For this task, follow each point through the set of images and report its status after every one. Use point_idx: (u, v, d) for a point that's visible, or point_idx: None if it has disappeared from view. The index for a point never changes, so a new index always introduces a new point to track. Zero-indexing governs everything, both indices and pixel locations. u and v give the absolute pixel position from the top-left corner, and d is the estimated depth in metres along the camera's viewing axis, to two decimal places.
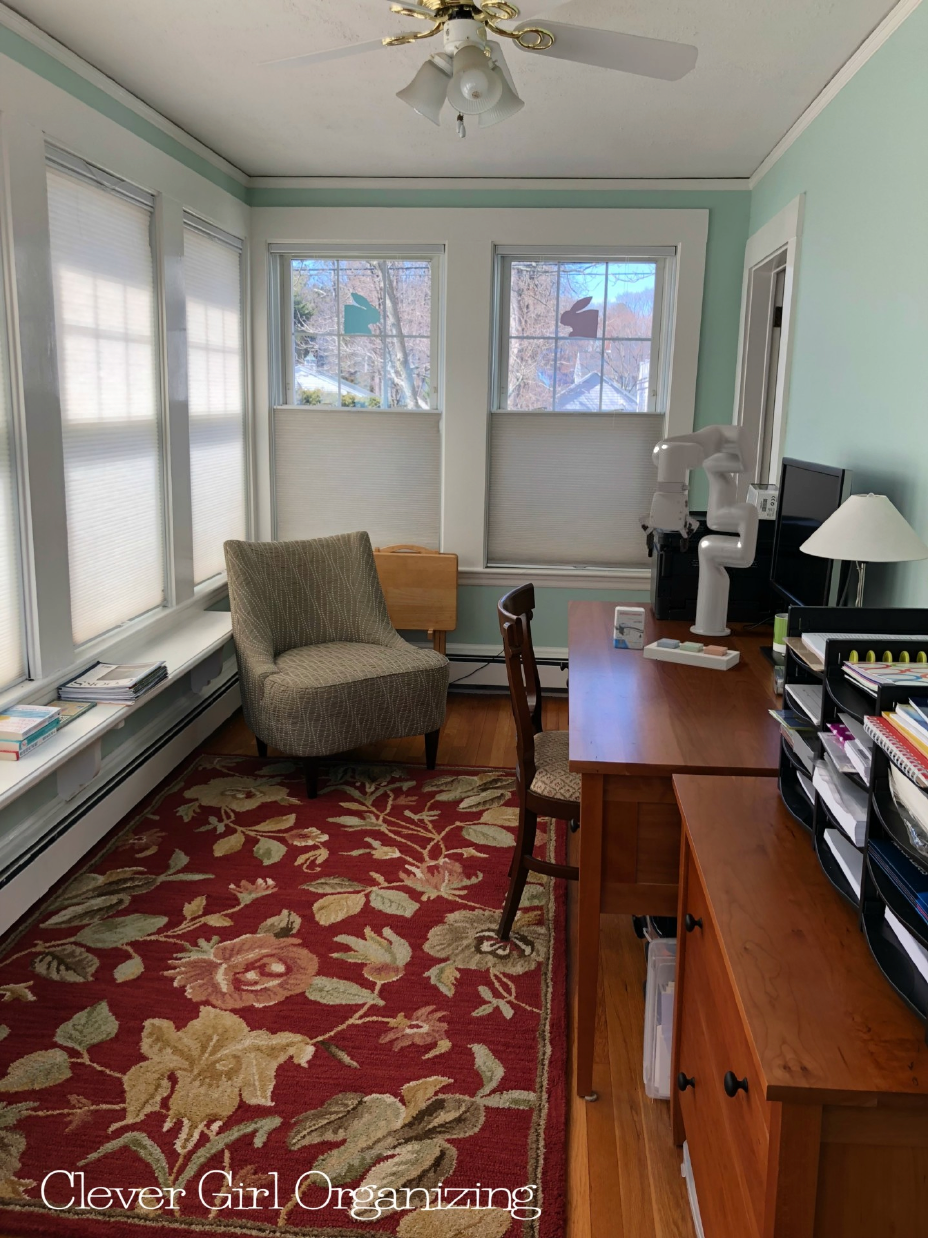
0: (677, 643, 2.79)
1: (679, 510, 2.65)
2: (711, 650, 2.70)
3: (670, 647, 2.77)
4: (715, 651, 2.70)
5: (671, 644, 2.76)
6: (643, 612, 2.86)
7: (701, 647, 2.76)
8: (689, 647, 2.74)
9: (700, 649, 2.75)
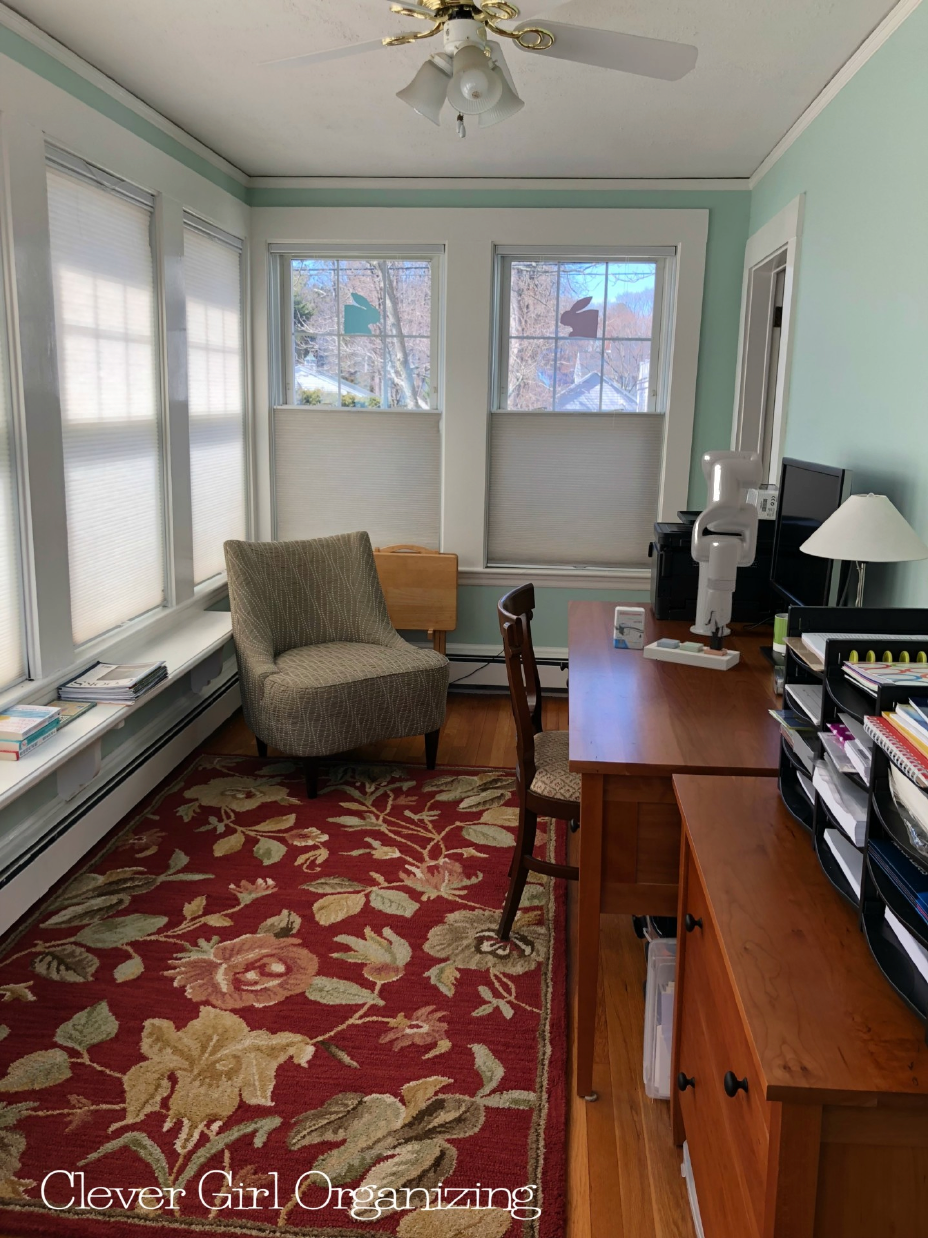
0: (677, 643, 2.79)
1: (731, 604, 2.71)
2: (711, 651, 2.71)
3: (670, 647, 2.77)
4: (715, 652, 2.70)
5: (671, 644, 2.76)
6: (643, 612, 2.86)
7: (701, 647, 2.76)
8: (689, 647, 2.74)
9: (700, 649, 2.75)
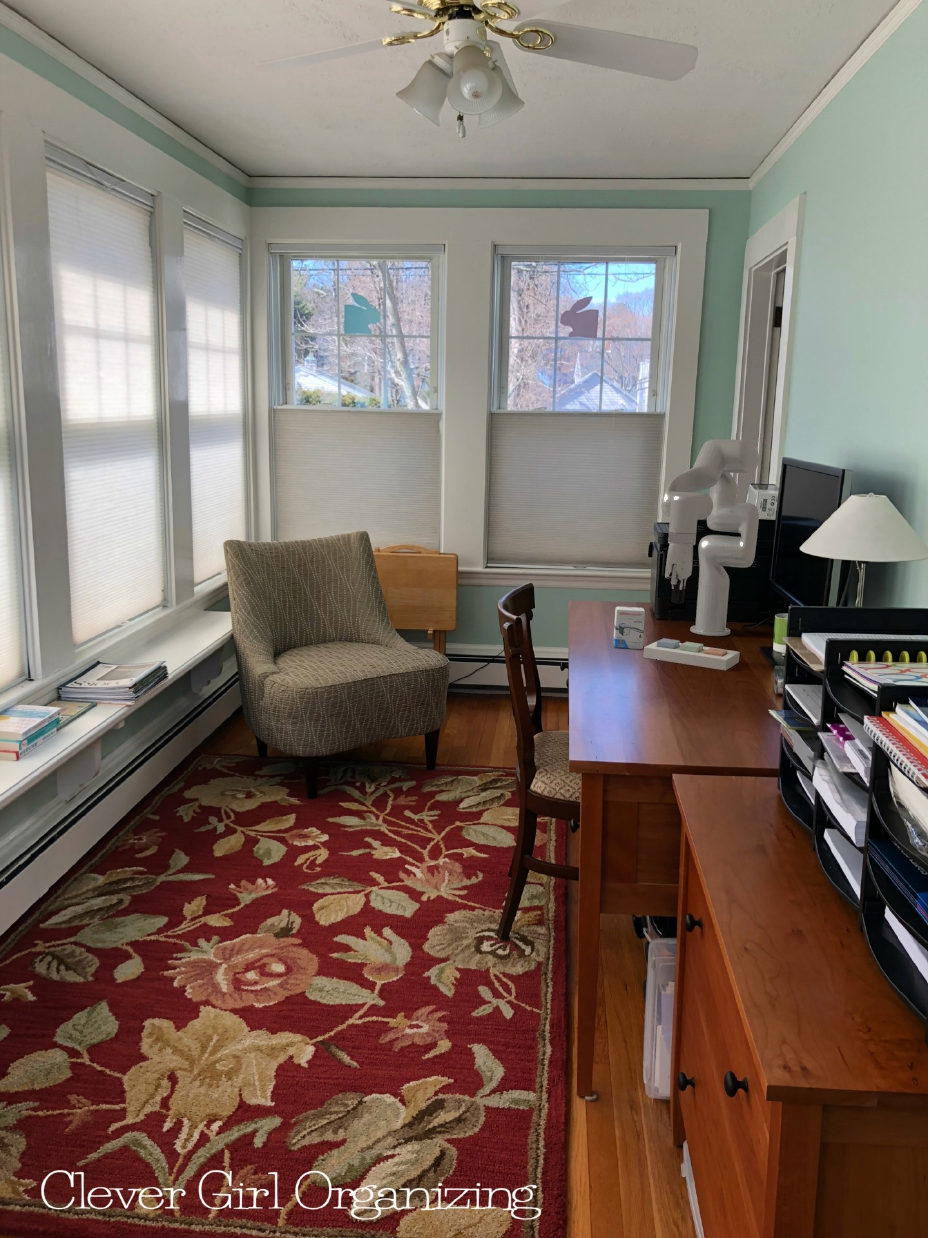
0: (677, 643, 2.79)
1: (692, 557, 2.76)
2: (711, 653, 2.71)
3: (670, 647, 2.77)
4: (715, 654, 2.70)
5: (671, 644, 2.76)
6: (643, 612, 2.86)
7: (701, 647, 2.76)
8: (689, 647, 2.74)
9: (700, 649, 2.75)
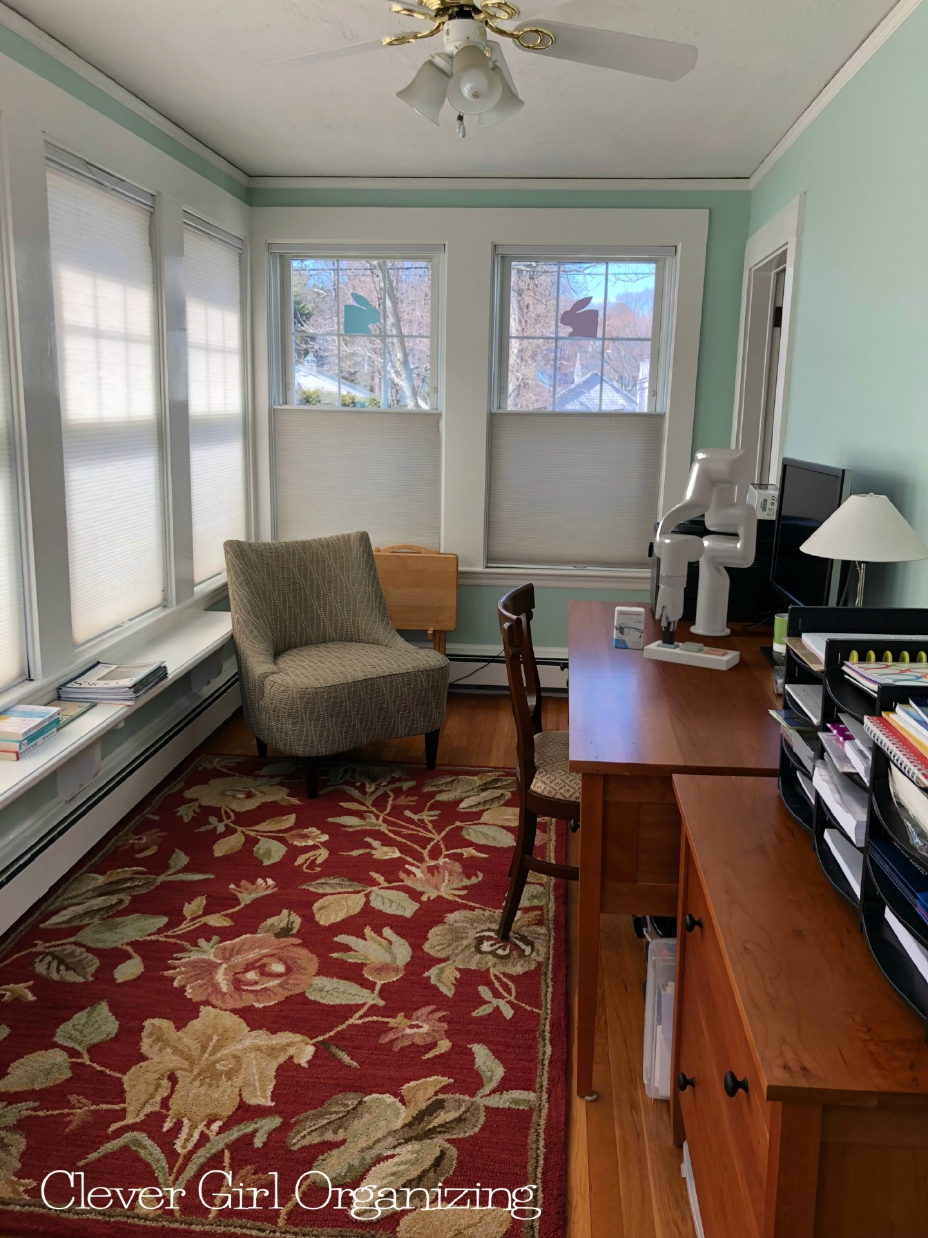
0: (677, 646, 2.79)
1: (683, 599, 2.79)
2: (711, 653, 2.71)
3: None
4: (715, 654, 2.70)
5: (671, 647, 2.77)
6: (643, 612, 2.86)
7: (701, 647, 2.76)
8: (689, 647, 2.74)
9: (700, 649, 2.75)
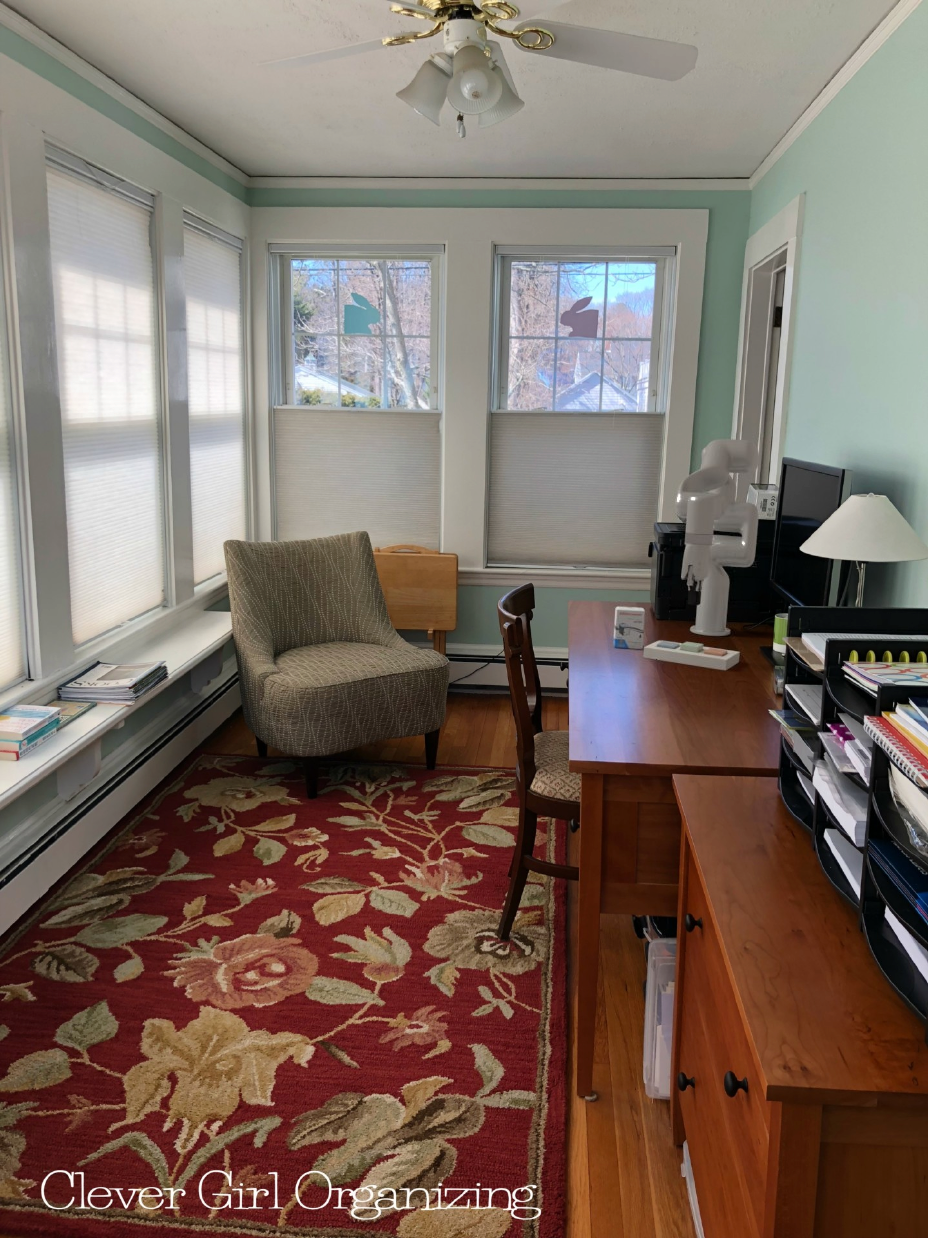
0: (677, 646, 2.79)
1: (709, 559, 2.73)
2: (711, 653, 2.71)
3: None
4: (715, 654, 2.70)
5: (671, 647, 2.77)
6: (643, 612, 2.86)
7: (701, 647, 2.76)
8: (689, 647, 2.74)
9: (700, 649, 2.75)
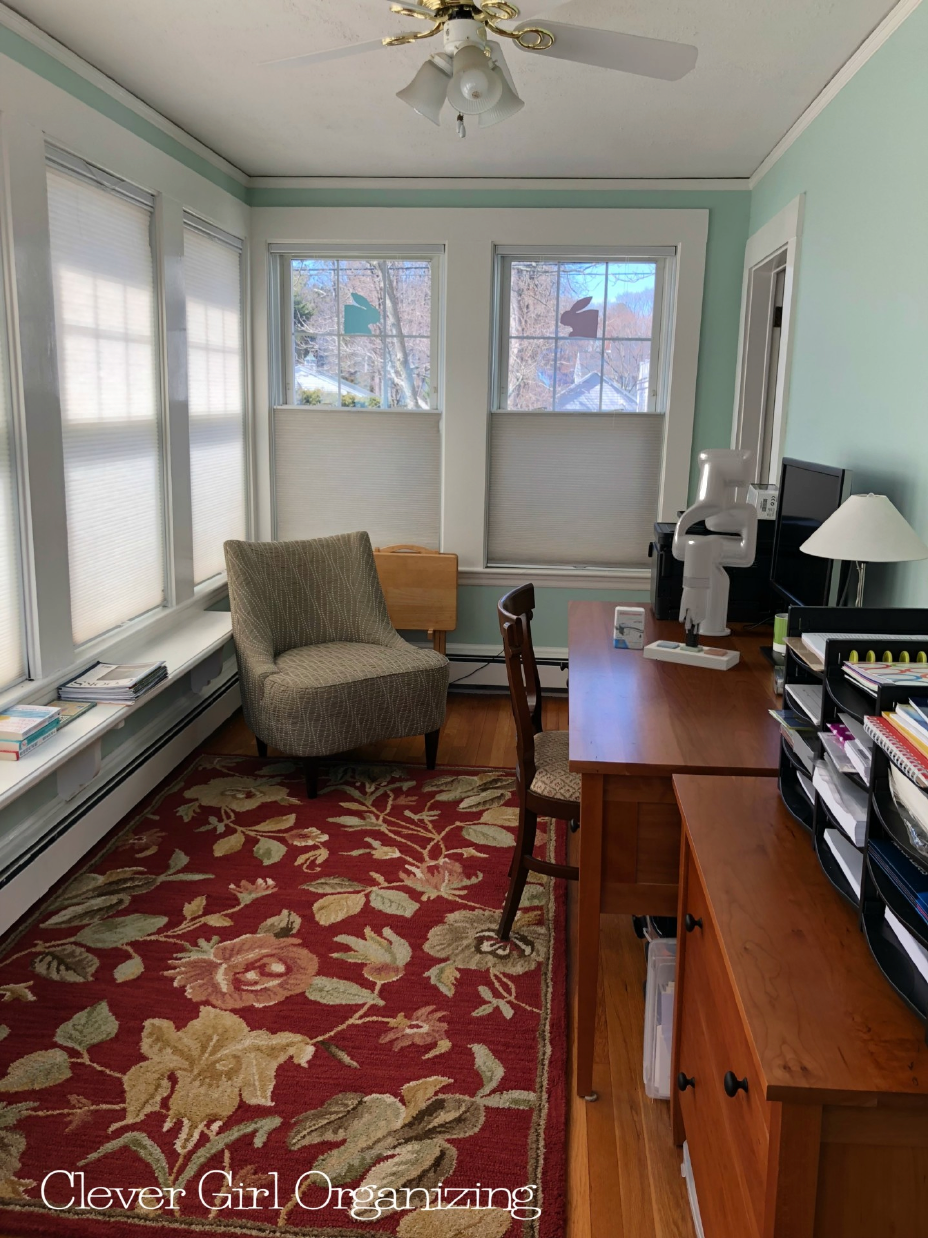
0: (677, 646, 2.79)
1: (706, 601, 2.75)
2: (711, 653, 2.71)
3: None
4: (715, 654, 2.70)
5: (671, 647, 2.77)
6: (643, 612, 2.86)
7: (701, 649, 2.76)
8: (689, 649, 2.74)
9: (700, 651, 2.75)
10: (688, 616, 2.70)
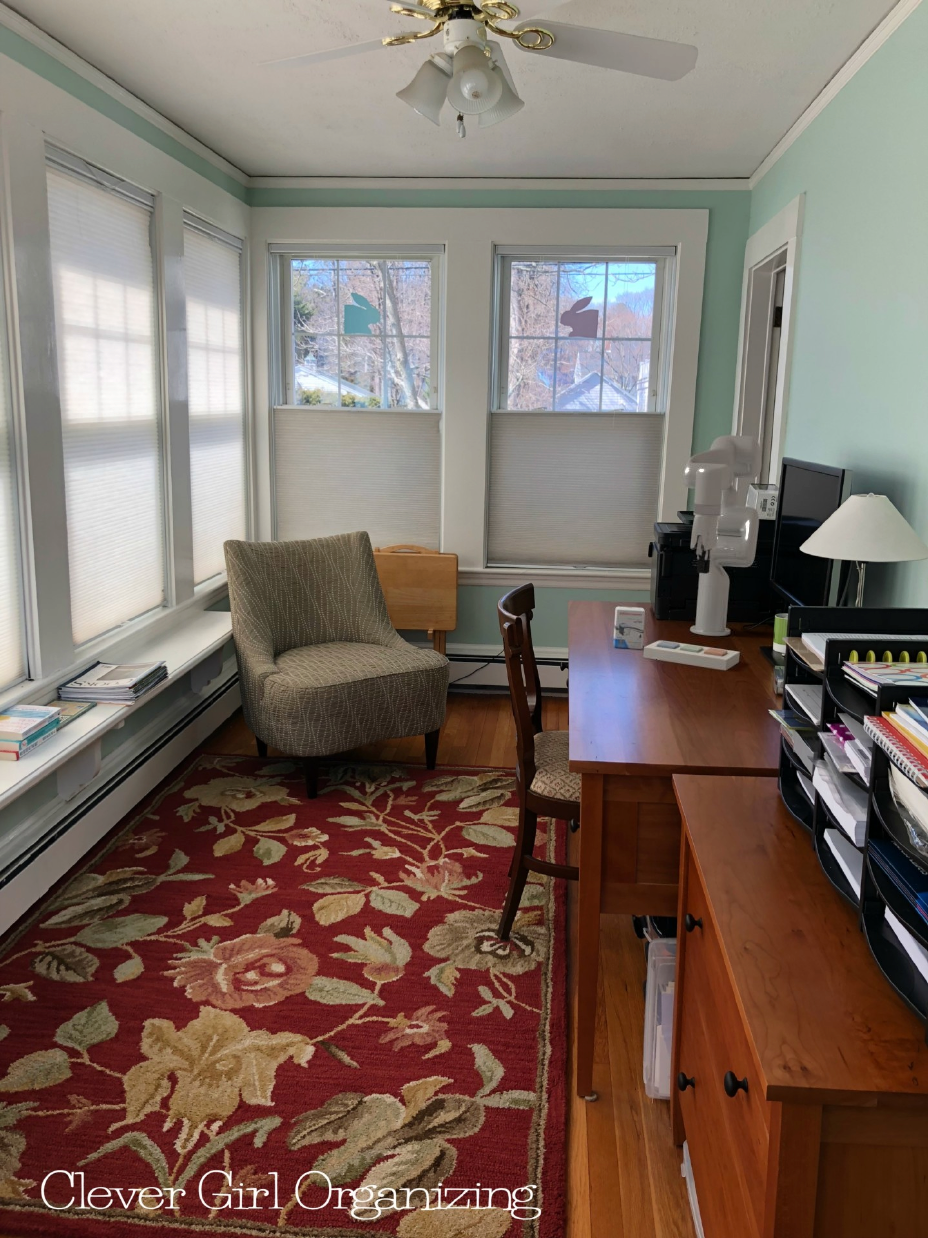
0: (677, 646, 2.79)
1: (717, 528, 2.81)
2: (711, 653, 2.71)
3: None
4: (715, 654, 2.70)
5: (671, 647, 2.77)
6: (643, 612, 2.86)
7: (701, 650, 2.76)
8: (689, 650, 2.74)
9: None
10: (699, 543, 2.76)
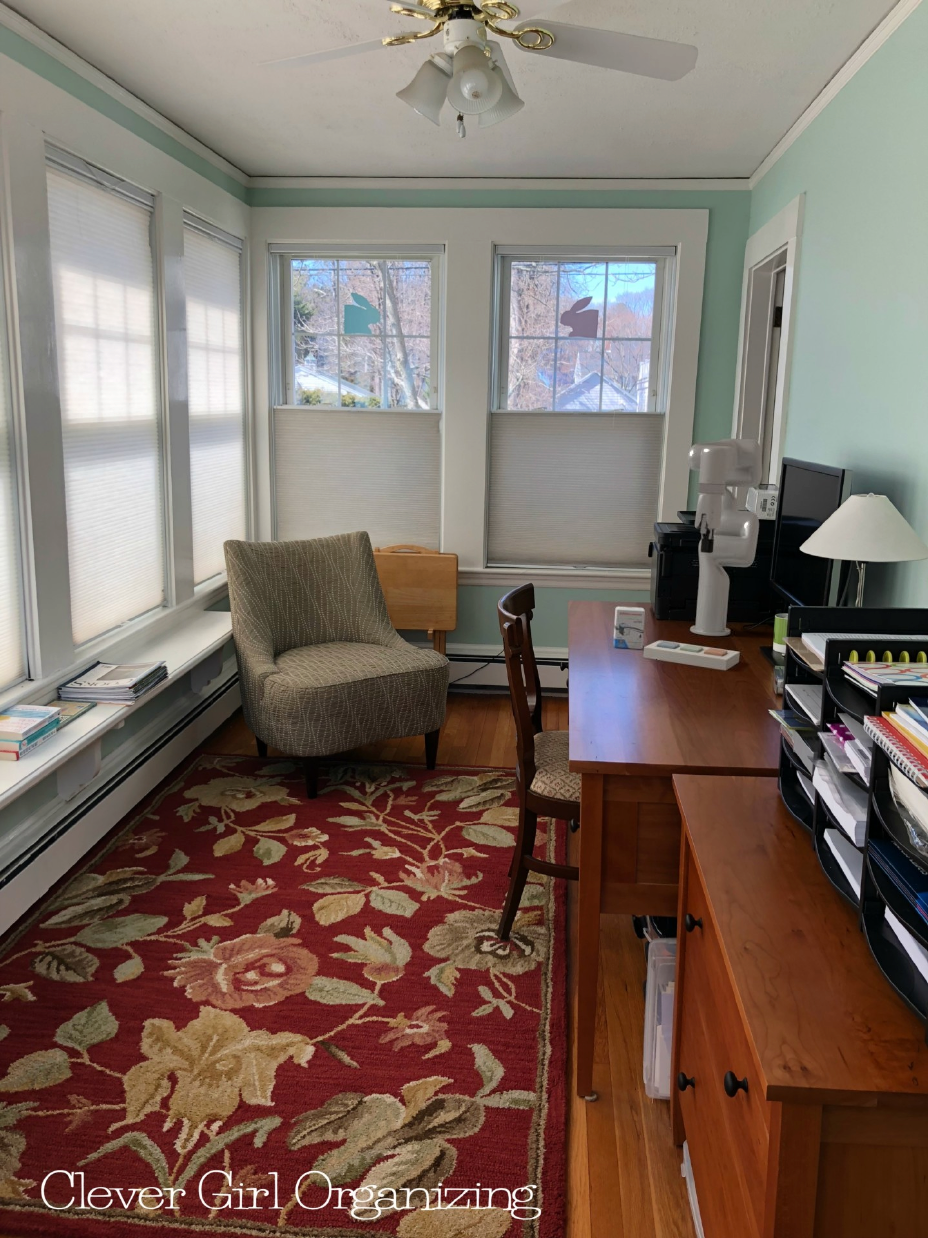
0: (677, 646, 2.79)
1: (721, 508, 2.85)
2: (711, 653, 2.71)
3: None
4: (715, 654, 2.70)
5: (671, 647, 2.77)
6: (643, 612, 2.86)
7: (701, 650, 2.76)
8: (689, 650, 2.74)
9: None
10: (703, 521, 2.80)
